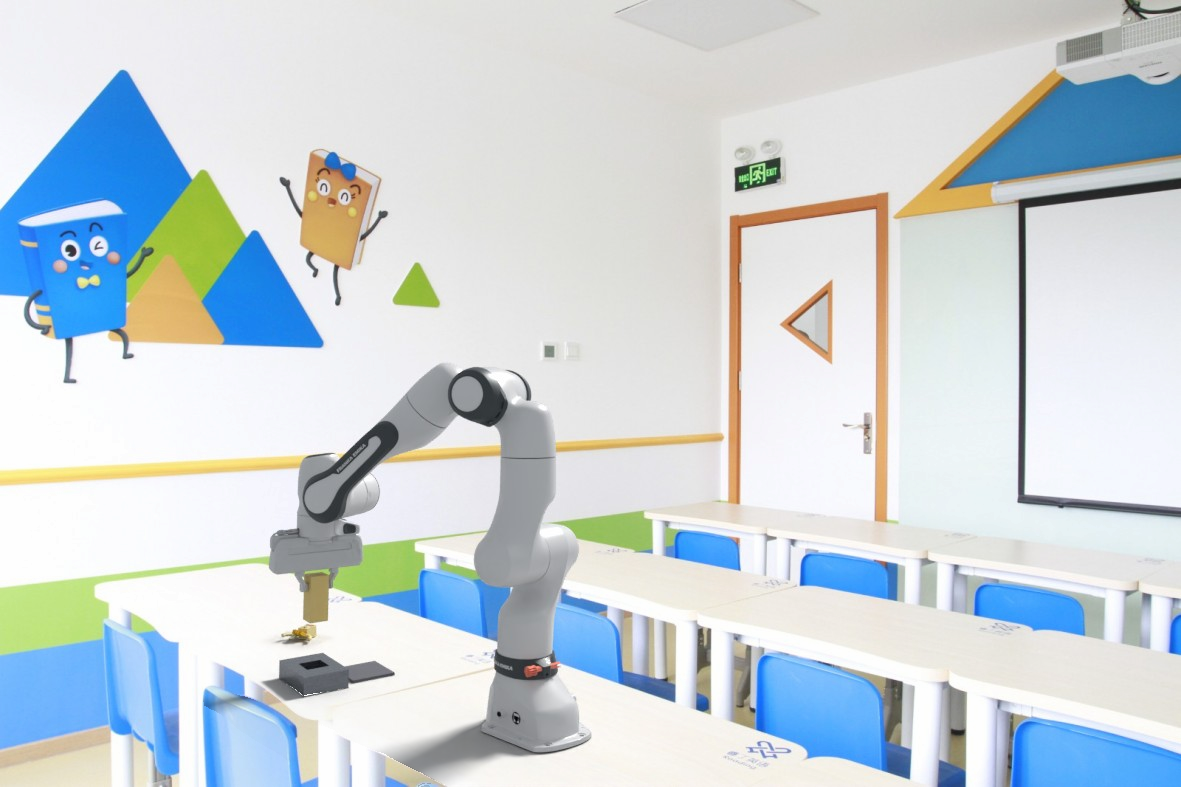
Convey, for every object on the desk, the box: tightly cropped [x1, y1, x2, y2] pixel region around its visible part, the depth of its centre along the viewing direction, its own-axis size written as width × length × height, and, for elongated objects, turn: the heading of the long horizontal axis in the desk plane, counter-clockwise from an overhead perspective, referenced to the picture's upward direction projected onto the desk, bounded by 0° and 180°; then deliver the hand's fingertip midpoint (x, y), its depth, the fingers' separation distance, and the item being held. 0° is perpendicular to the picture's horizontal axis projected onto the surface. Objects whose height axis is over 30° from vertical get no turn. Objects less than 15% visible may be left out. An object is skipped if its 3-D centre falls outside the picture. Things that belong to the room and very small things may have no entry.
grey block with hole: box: [278, 652, 350, 697], centre depth 197 cm, size 14×10×4 cm
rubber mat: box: [343, 660, 395, 684], centre depth 205 cm, size 10×10×1 cm
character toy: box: [281, 623, 317, 642], centre depth 229 cm, size 8×3×8 cm
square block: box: [302, 571, 330, 624], centre depth 197 cm, size 4×4×10 cm
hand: (316, 589), depth 197 cm, fingers closed on square block, 4 cm apart
